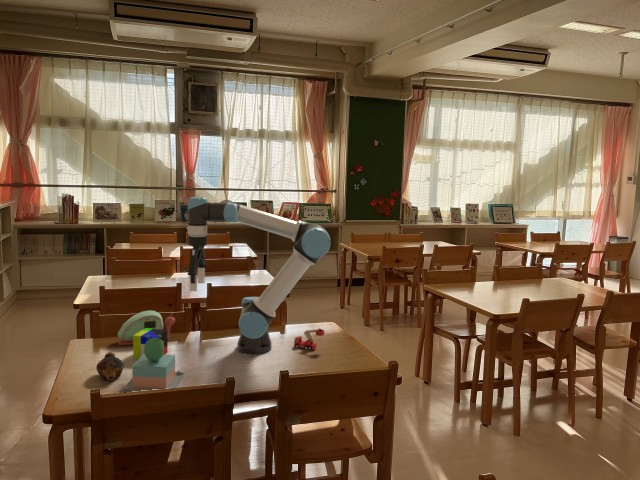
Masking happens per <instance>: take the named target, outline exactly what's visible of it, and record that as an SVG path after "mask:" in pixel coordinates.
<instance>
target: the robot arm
mask: <svg viewBox="0 0 640 480" xmlns="http://www.w3.org/2000/svg"><path fill="white" fill-rule="evenodd" d="M187 202H188V203H187V226H186V230H187V235H188V236H187V245H188V246H190V247H192V249H190V255H189V256H190V257H189V264H188V272H187V276H189V292H197V291H198V284H205V282H206V279H205V274H206V273H205V271H206V268H207V267H208V266H207V263H206V254H205V246H207V245H208V237H207V235H208V222H221V223H222V222H224V223H226V222H227V223H231V222H232V223H234V222H235V223H240V224H242V225H247V226H249V227H253V228H256V229H259V230H262V231H265V232H266V231H267V232H269V233H272V234H276V235H278V236H282V237H285V238H288V239H291V241H292V242H293V243H295V244H294V245H293V246H292V251H293V252H292V254H291V255H290V256H289V258H288V259H287V260H286V262H285V263H284V264H283V266H282V267H281V268H280V270H279V271H278V272H277V274H276V275H275V276H274V278H273V279H272V280H271V281H270V283H269V284H268V286H267V287H266V288H265V289H264V290H263V292H262V293H261V295H260V296H246V297H243V298H242V300H241V313H240V317H239V319H238V328H239V332H240V335H239V338H238V341H237V343H236V344H237V345H236V346H237V350H238V351H239V352H241V353H244V354H249V355H250V354H251V355H252V354H253V355H257V354H258V355H259V354H265V353H268V352H269V351H271V350H272V348H273V347H272V343H273V342H272V339H271V337H270V333H269V326H270V324H271V323H272V322H273V320H274V319H275V317H276V316H277V314H276V310H277V309H278V308H279V306H280V305H281V304H282V302H283V301H284V300H285V299H286V297H287V296H288V295H289V294H290V292H291V291H292V290H293V288H294V287H295V286H296V284H297V283H298V282H299V280H301V278H302V277H303V275H304V274H305V273H306V271H307V270H308V269H309V268H310V266H313V265H314V266H315V265H316V264H317V263H318V261H320V259H321V258H322V257H324V256H325V255H326V254H327V253H328V252H329V250H330V248H331V243H332V242H331V236H330V234H329V233H328V231H327V230H326V228H325V227H323V226H322V225H320V224H316V223H312V222H307V221H303V220H297V221H295V220H291V219H288V218H286V217H285V218H284V217H283V216H279V215H276V214H273V213H268V212H267V211H262V210H259V209H257V208H253V207H249V206H247V205H243V204H240V203H236V202H234V201H232V200H230V199H223V200H221V201H219V202H210V201H208V198H207V197H205V196H191V197H189V198H188V201H187Z"/></svg>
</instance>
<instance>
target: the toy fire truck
mask: <svg viewBox="0 0 640 480" xmlns="http://www.w3.org/2000/svg"><path fill="white" fill-rule="evenodd" d="M311 333H315V336H319V337H323V336H324V335H325V330H324V329H323V328H317V329H309V330H308V329H307V330H305V331H304V332H303V334H304V336H305V337H306V338H307V340H305V341H302V340H303V337H302V336H296V337H294V343H293V347H295V348H296V347H298V348H301V349H305V350H309V349H310V350H309V351H314V350H315V349H316V348H317V343H315V342H314V339H313V337H312V335H311Z"/></svg>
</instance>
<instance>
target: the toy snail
mask: <svg viewBox="0 0 640 480" xmlns="http://www.w3.org/2000/svg"><path fill="white" fill-rule="evenodd" d="M171 312H172V311H170V313H169V315H170V316H168V317H166V318H165V319H164V322H163V316H162V315H161V313H159V312H157V311H155V310H143V311H140V312H139V313H136V314H135V315H132V316H131V317H130V318H129V319H127V320H126V321H125V322H124V323H123V324H122V326H121V327H120V329H119V330H118V331H117V332H118V333H117V337H118V339H120V340H119V341H118V342H117V344H118V345H120V346H127V345H133V335H135V334H136V333H138V332H140V331H142V330H143V329H145V328H151V329H160V330H167V340H168V339H169V338H170V335H171V331H172V330H171V328H172V326H173V325H174V324H175V323H176V318H175V317H173V314H172V313H171Z"/></svg>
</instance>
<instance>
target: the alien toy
mask: <svg viewBox="0 0 640 480" xmlns="http://www.w3.org/2000/svg"><path fill="white" fill-rule="evenodd" d="M149 337H150V335H146V338H148V339H149V340H147V342H146V344H145V347H144V353H145V356H146V358H147V359H148V360H150V361H157V360H159V359H160V358H161V357H162V356H163V353H164V345H163V342H162V340H160V339H159V338H160V337H162V336H161V335H160V334H159V335H158V338H151V339H150V338H149Z"/></svg>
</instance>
